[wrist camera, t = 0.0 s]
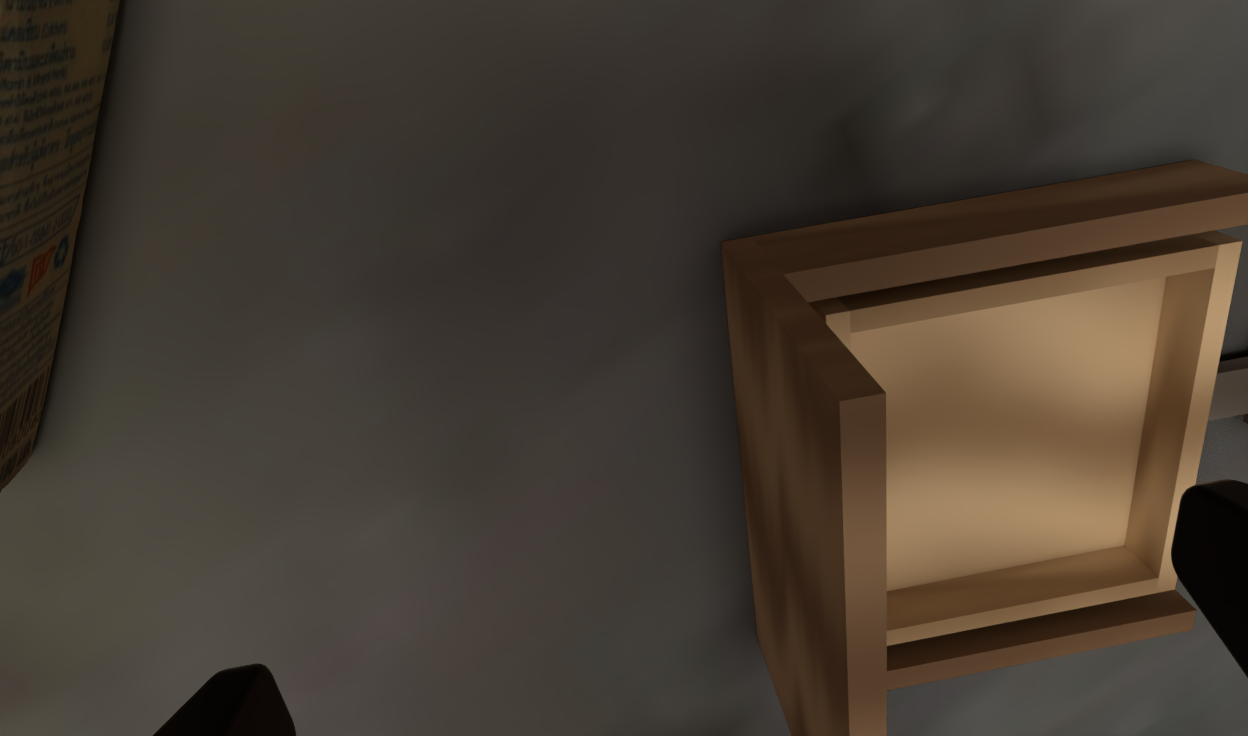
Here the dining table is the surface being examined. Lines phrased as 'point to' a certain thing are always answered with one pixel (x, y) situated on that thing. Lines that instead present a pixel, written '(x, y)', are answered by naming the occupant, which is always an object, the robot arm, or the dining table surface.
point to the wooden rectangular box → (42, 190)
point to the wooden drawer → (1043, 425)
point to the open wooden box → (856, 431)
